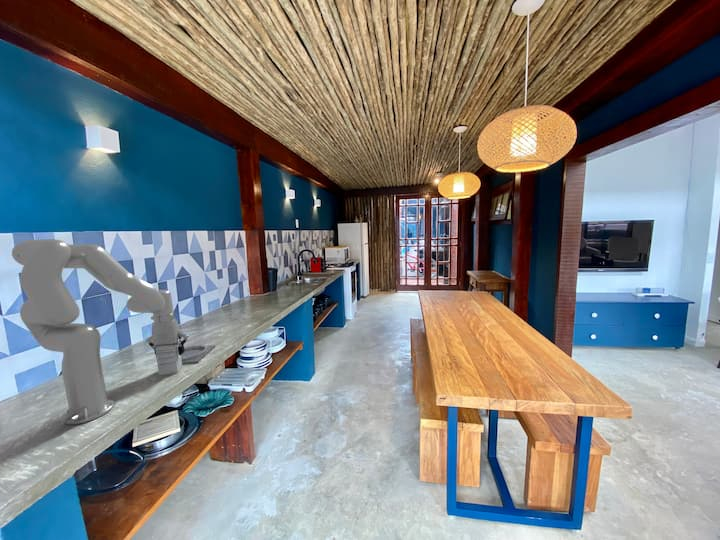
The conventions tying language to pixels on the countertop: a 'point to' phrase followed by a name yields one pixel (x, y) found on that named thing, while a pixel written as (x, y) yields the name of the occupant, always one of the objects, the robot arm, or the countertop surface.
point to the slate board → (195, 351)
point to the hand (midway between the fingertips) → (170, 354)
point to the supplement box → (168, 359)
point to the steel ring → (195, 354)
